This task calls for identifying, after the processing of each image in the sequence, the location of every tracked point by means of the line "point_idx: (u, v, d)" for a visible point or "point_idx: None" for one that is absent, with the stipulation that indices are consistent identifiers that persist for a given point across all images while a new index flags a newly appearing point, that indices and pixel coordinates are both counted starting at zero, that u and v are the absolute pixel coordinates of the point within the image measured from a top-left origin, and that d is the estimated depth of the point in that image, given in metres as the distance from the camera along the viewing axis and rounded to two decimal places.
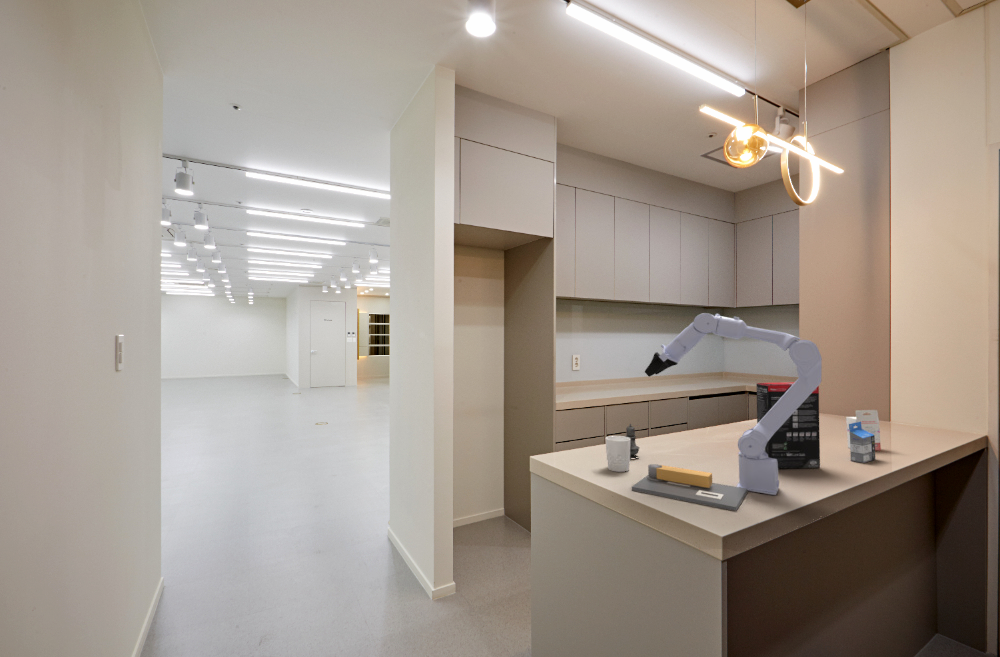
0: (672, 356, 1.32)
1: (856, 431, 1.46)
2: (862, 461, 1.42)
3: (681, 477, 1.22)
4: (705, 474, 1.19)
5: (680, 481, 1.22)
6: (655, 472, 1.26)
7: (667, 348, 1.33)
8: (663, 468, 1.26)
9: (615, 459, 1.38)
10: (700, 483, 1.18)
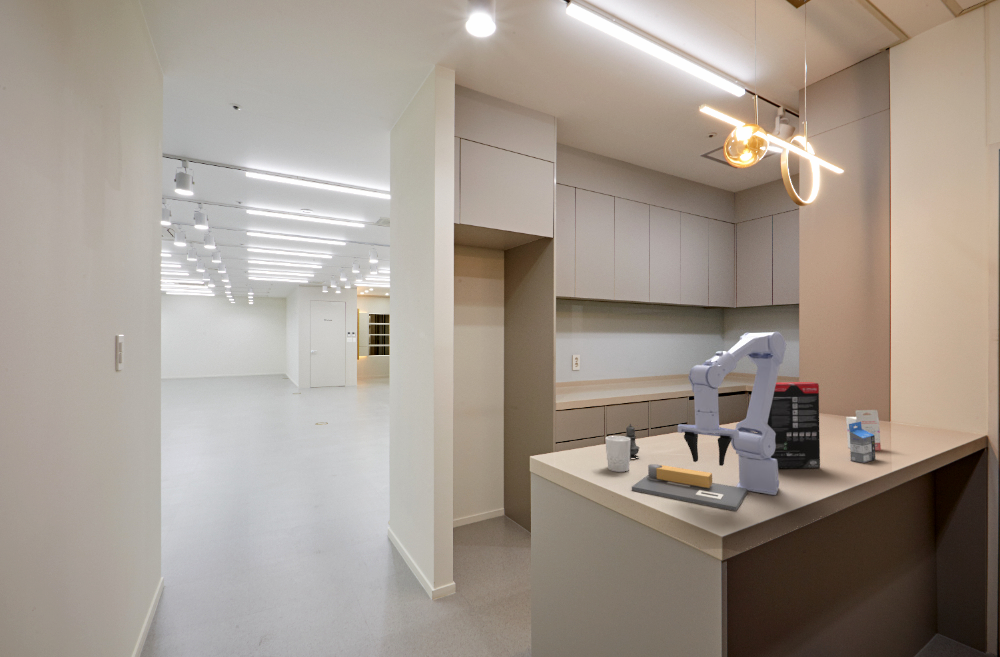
0: (719, 427, 1.13)
1: (856, 431, 1.46)
2: (862, 461, 1.42)
3: (681, 477, 1.22)
4: (705, 474, 1.19)
5: (680, 481, 1.22)
6: (655, 472, 1.26)
7: (714, 427, 1.11)
8: (663, 468, 1.26)
9: (615, 459, 1.38)
10: (700, 483, 1.18)
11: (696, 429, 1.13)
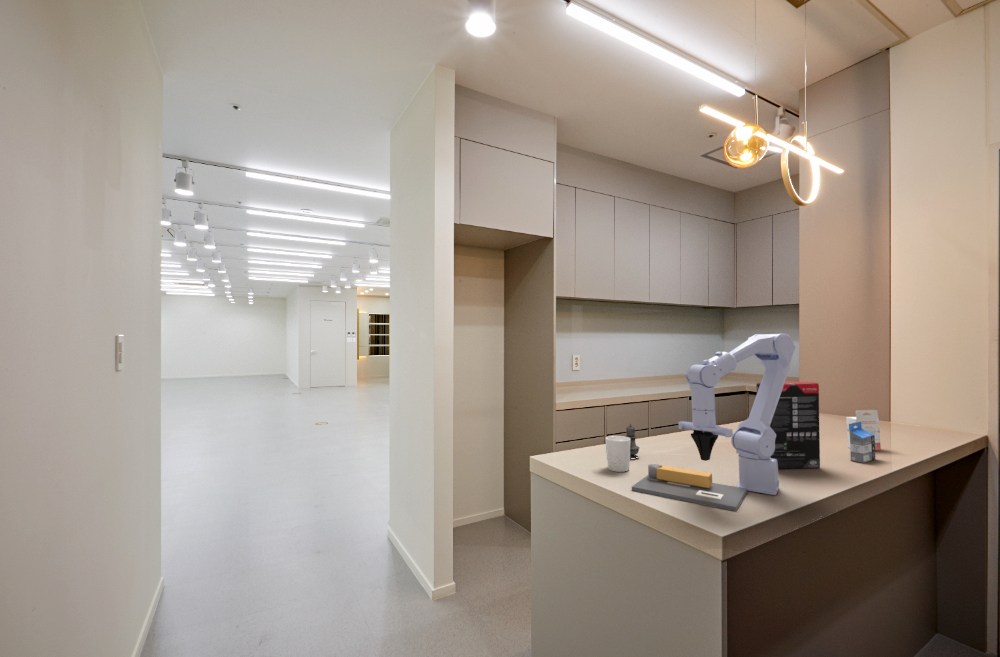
0: (715, 426, 1.15)
1: (856, 431, 1.46)
2: (862, 461, 1.42)
3: (681, 477, 1.22)
4: (705, 474, 1.19)
5: (680, 481, 1.22)
6: (655, 472, 1.26)
7: (707, 425, 1.14)
8: (663, 468, 1.26)
9: (615, 459, 1.38)
10: (700, 483, 1.18)
11: (691, 426, 1.18)
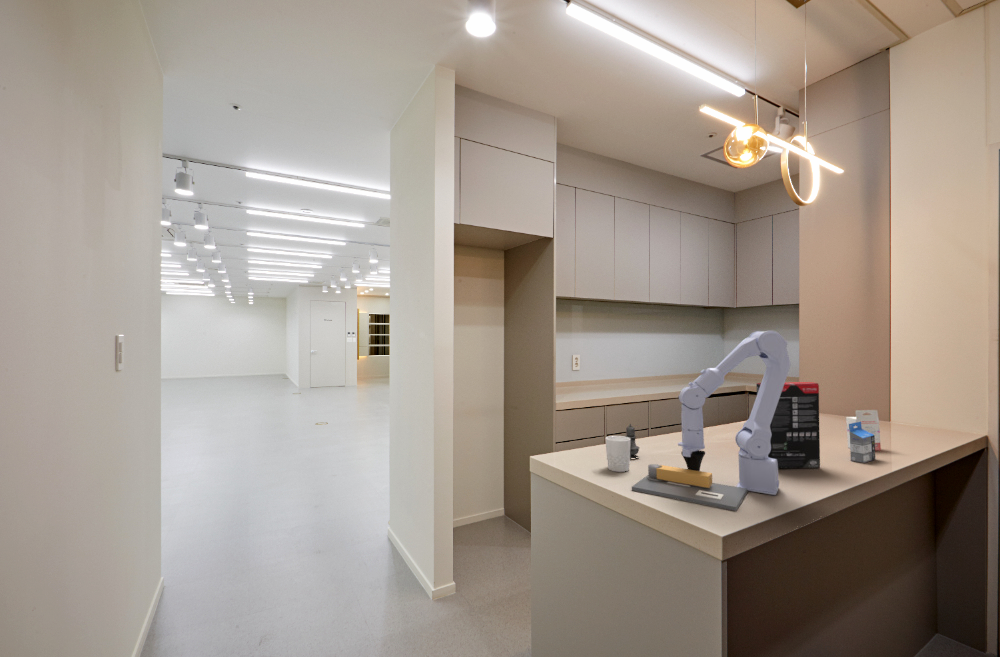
0: (694, 446, 1.22)
1: (856, 431, 1.46)
2: (862, 461, 1.42)
3: (681, 477, 1.22)
4: (705, 474, 1.19)
5: (680, 481, 1.22)
6: (655, 472, 1.26)
7: (684, 443, 1.24)
8: (663, 468, 1.26)
9: (615, 459, 1.38)
10: (700, 483, 1.18)
11: None
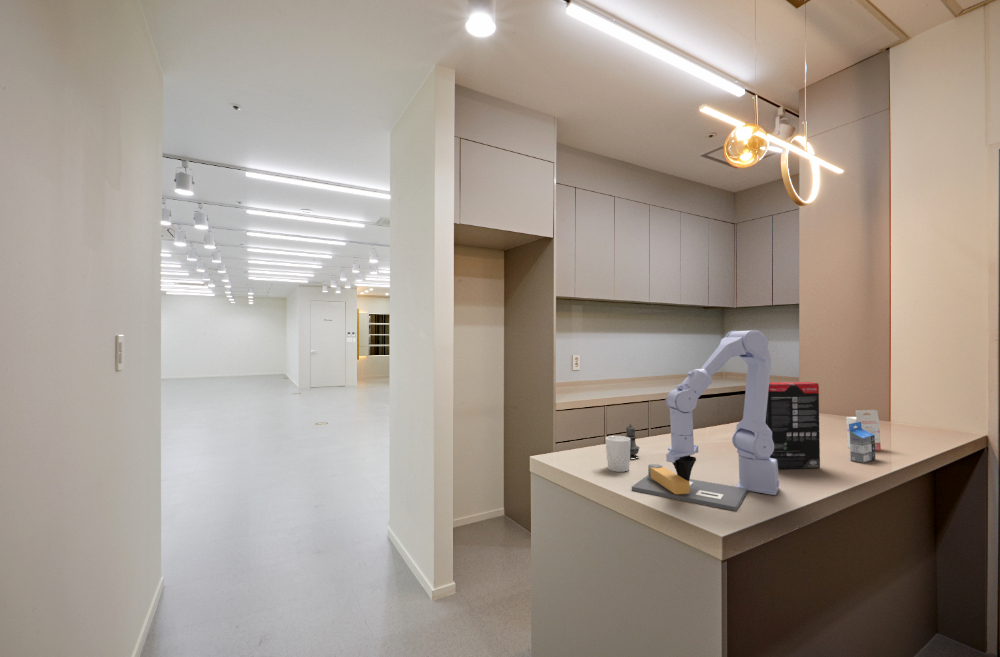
0: (681, 451, 1.17)
1: (856, 431, 1.46)
2: (862, 461, 1.42)
3: (661, 479, 1.20)
4: (678, 480, 1.14)
5: (661, 483, 1.20)
6: (650, 471, 1.27)
7: (672, 447, 1.19)
8: (657, 468, 1.25)
9: (615, 459, 1.38)
10: (671, 488, 1.15)
11: None
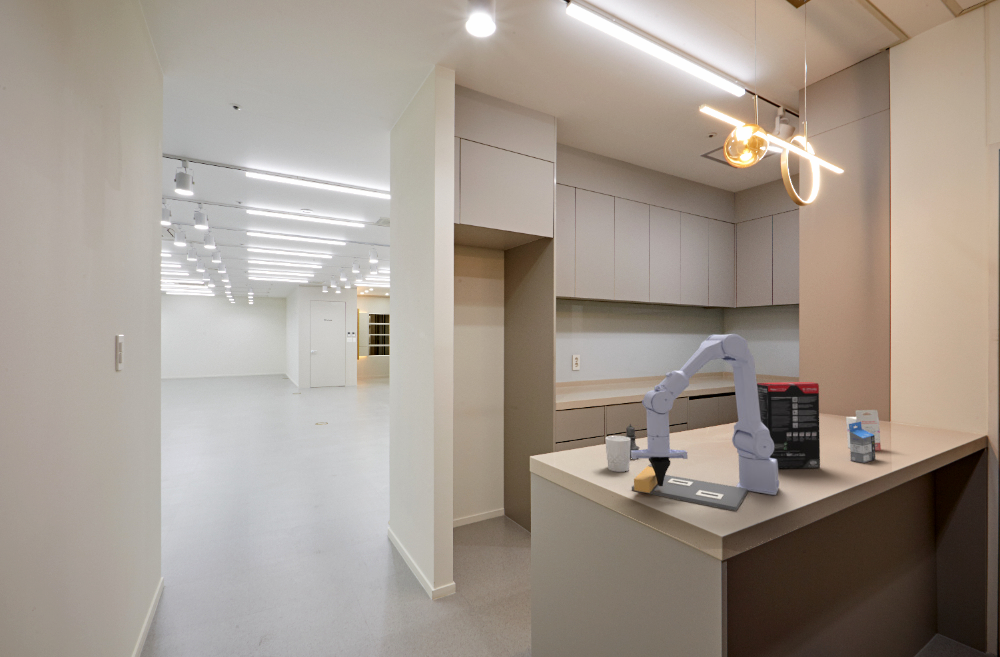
0: (649, 451, 1.17)
1: (856, 431, 1.46)
2: (862, 461, 1.42)
3: None
4: (641, 478, 1.17)
5: None
6: None
7: None
8: (650, 468, 1.26)
9: (615, 459, 1.38)
10: None
11: None
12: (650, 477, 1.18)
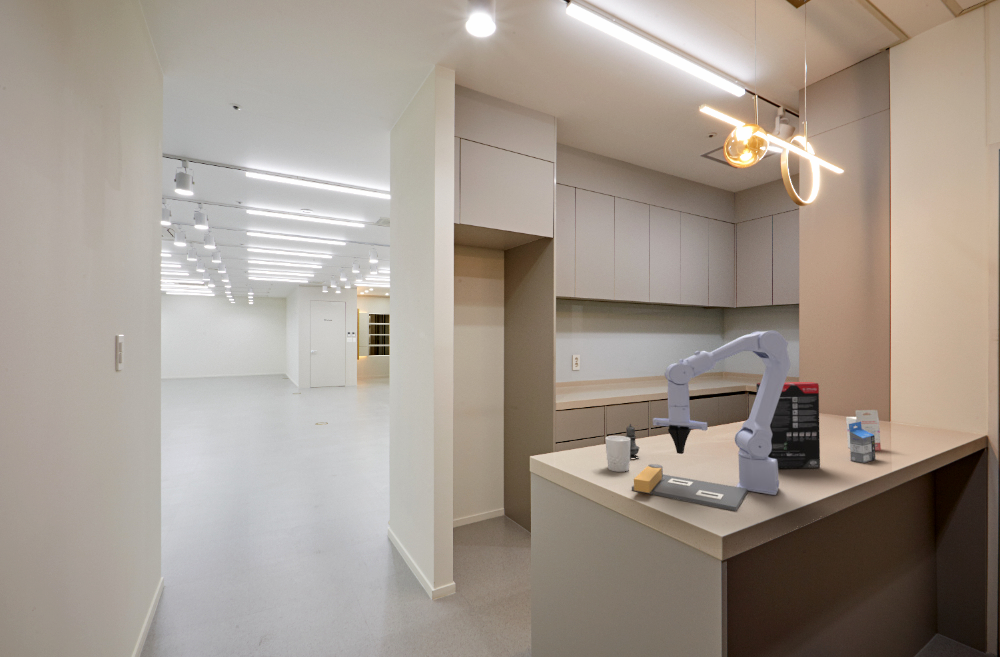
0: (668, 420, 1.25)
1: (856, 431, 1.46)
2: (862, 461, 1.42)
3: None
4: (641, 478, 1.17)
5: None
6: None
7: None
8: (650, 468, 1.26)
9: (615, 459, 1.38)
10: None
11: None
12: (650, 477, 1.18)
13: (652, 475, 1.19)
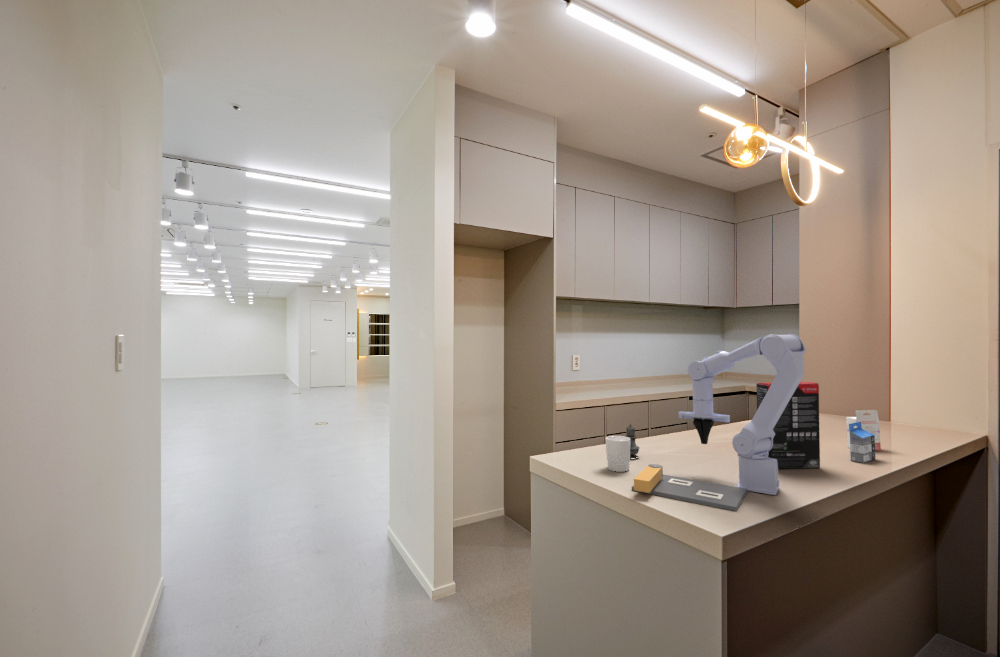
0: (693, 413, 1.36)
1: (856, 431, 1.46)
2: (862, 461, 1.42)
3: None
4: (641, 478, 1.17)
5: None
6: None
7: None
8: (650, 468, 1.26)
9: (615, 459, 1.38)
10: None
11: None
12: (650, 477, 1.18)
13: (652, 475, 1.19)
